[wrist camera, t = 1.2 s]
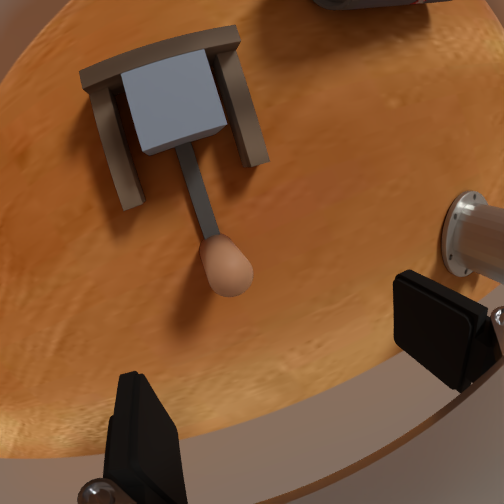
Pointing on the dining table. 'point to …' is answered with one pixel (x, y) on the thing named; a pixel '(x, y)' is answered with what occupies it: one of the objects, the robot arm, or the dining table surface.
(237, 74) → the dark u-shaped frame
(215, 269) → the block
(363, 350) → the dining table surface
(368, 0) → the bluetooth speaker
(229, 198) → the dining table surface
